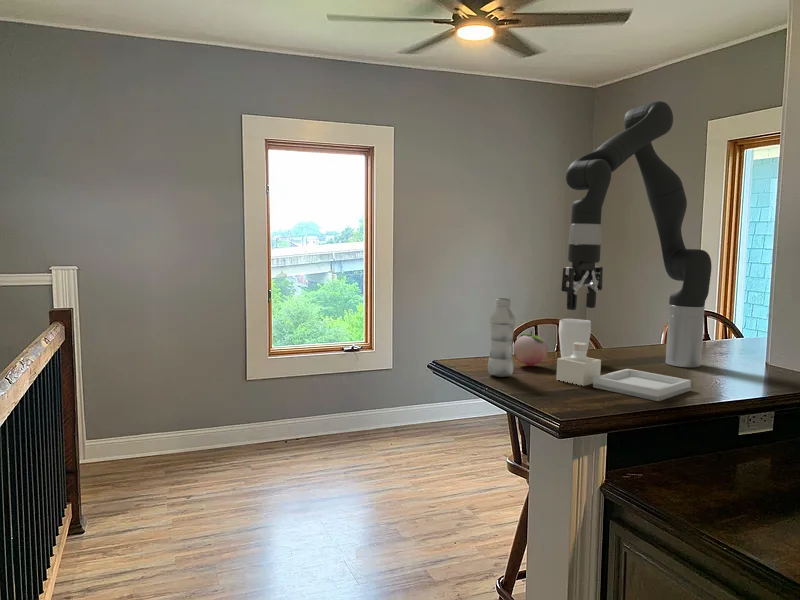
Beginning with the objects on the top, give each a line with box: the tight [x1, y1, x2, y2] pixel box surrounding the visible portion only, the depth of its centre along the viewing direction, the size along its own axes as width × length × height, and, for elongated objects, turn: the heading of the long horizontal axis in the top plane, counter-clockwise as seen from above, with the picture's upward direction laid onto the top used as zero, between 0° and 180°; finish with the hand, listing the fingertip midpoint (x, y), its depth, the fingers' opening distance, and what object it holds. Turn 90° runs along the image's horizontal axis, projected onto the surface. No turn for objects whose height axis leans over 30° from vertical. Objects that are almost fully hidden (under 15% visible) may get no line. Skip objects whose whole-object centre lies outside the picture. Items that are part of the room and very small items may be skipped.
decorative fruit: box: [513, 330, 549, 367], centre depth 166 cm, size 9×8×10 cm
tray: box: [592, 368, 692, 402], centre depth 143 cm, size 16×16×2 cm
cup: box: [558, 318, 592, 358], centre depth 175 cm, size 9×9×12 cm
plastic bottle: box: [487, 297, 517, 378], centre depth 153 cm, size 6×7×20 cm
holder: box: [555, 356, 602, 387], centre depth 150 cm, size 8×8×6 cm
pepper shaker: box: [570, 342, 589, 362], centre depth 150 cm, size 4×4×10 cm
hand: (581, 308), depth 148 cm, fingers open, 8 cm apart
